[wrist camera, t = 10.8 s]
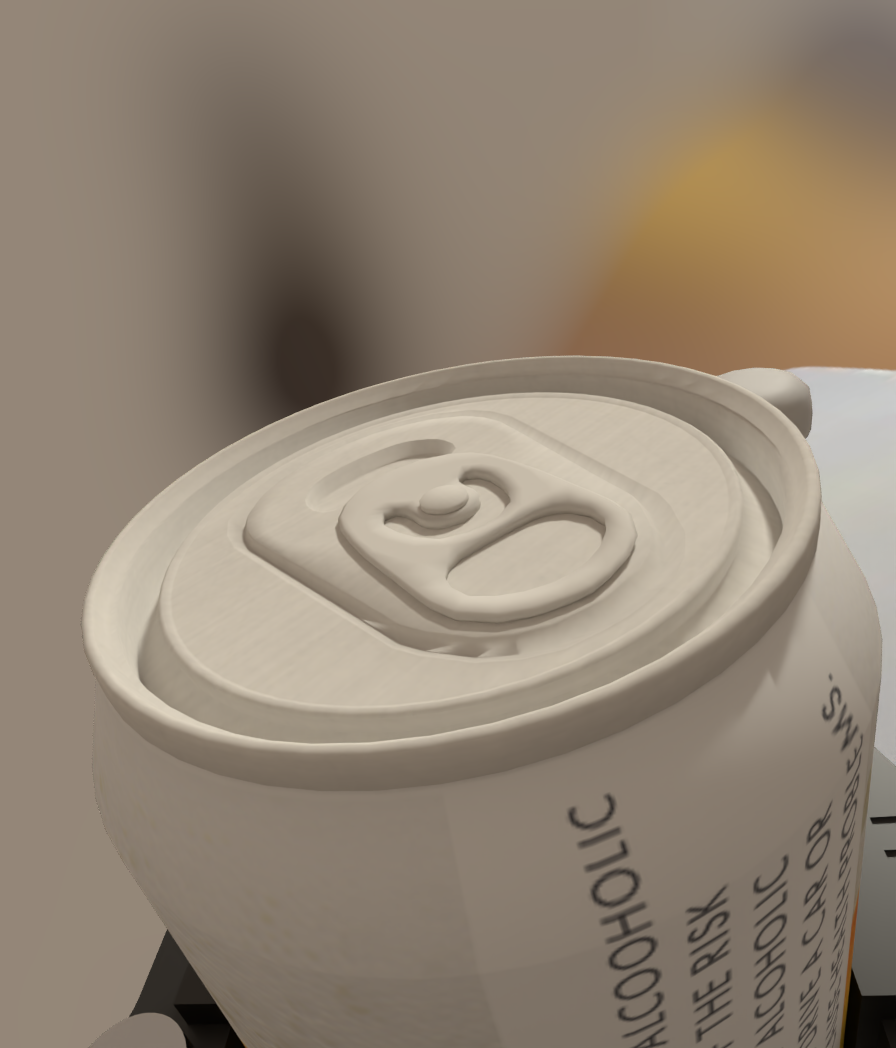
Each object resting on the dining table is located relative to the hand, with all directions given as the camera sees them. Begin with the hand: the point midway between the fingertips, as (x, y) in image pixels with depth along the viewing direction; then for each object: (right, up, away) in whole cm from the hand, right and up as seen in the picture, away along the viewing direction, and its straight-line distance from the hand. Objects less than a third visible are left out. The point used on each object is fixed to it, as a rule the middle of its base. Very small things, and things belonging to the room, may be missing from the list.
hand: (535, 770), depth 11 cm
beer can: (+2, -9, +3) cm, 10 cm away
